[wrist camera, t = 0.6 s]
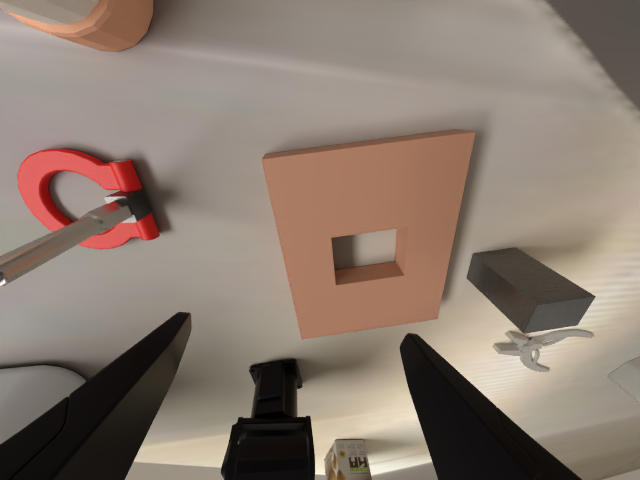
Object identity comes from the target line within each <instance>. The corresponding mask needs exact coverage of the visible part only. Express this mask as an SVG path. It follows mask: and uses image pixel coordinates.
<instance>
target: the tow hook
mask: <svg viewBox="0 0 640 480" xmlns="http://www.w3.org/2000/svg"><path fill="white" fill-rule="evenodd" d="M65 170H66V171H72V172H77V173H79V174H82V175H84V176H87V177H89V178H90V179H92V180H94V181H95V182H97V183H98V184H99V185H100V186H101V187H103V188H104V189H106V190H121V191H119V192H116V193H114V194H111V195H109V196H106V197H105V200H106V202H107V204H105V205H103V206H101V207H99V208H96V209H94V210H92V211H90V212H88V213H86V214H85V215H83V216H82V217H81V218H80V220H78V221H76V222H71V221H70V220H69V219H67V218H66V217H65V216H64V215H63V214H62V213H61V212H60V211H59V210H58V209H57V208H56V206H55V205H54V203H53V202H52V200H51V197H50V194H49V185H48V184H49V181H50V179H51V177H52V176H53V175H54V174H55V173H56V172H58V171H65ZM17 177H18V187H19V191H20V193H21V195H22V198H23V200H24V202H25V204H26V205H27V207H28V208H29V209H30V211H31V212H32V214H33V215H34V216H35V217H36V218H37V219H38V220H39V221H40V222H41V223H42V224H43V225H44V226H45V227H47V228H48V229H50V230H51V231H52V233H49V234H47V235H45V236H43V237H41V238H39V239H36V240H34V241H32V242H30V243H28V244H26V245H23V246H21V247H19V248H17V249H15V250H12V251H10V252H8V253H6V254H4V255H2V256H0V286H4V285H6V284H8V283H10V282H12V281H14V280H15V279H17V278H19V277H21V276H22V275H24V274H26V273H28V272H30V271H31V270H33V269H35V268H37V267H38V266H40V265H42V264H44V263H46V262H47V261H49V260H51V259H53V258H54V257H56V256H58V255H60V254H62V253H63V252H65V251H67V250H69V249H70V248H72V247H74V246H76V245H81V246H84V247H88V248H96V249H109V248H115V247H118V246H121V245H123V244H125V243H126V242H128V241H129V240H130V239H131V238H133V237H141V239H142V240H152V239H155V238H157V237H159V236H160V234H159V231H158V229H157V226H156V223H155V221H154V218H153V216H152V213H151V212H152V209H151V206H150V204H149V201H148V199H147V196H146V193H145V191H144V189H143V188H142V187H141V184H140V182H139V179H138V177H137V174H136V171H135V169H134V166H133V164H132V161H131V160H126V159H121V160H114V161H111V162H109V163H104V162H102V161H101V160H99V159H97V158H95V157H93V156H90V155H88V154H85V153H83V152H80V151H75V150H70V149H49V150H42V151H39V152H36V153H34V154H32V155H29V156H28V157H27V158H26V159H25V160H24V161H23V163H22V164H21V165H20V169H19V172H18V175H17ZM113 227H114V228H113ZM111 228H113V229H111ZM109 229H111V230H109Z"/></svg>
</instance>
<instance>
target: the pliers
mask: <svg viewBox="0 0 640 480" xmlns="http://www.w3.org/2000/svg"><path fill="white" fill-rule="evenodd" d="M505 334H506V336H507V337H508V338H509V339H510V340H511V341H513V342H514V343H498V344H494V345H493V347H494V349H495V350H496V351H497V352H498V353H499V354H505V355H513V356H520V360H521V362H522V363H523V364H524V365H525V366H526V367H528V368H529V369H531V370H535V371H539V372H549V371H550V370H549V369H548V368H546V367H543V366H540V365H538V364H536V362H537V360H538V358H539V352H538V351H537V350H536V348H542V346H548V345H551V344H554V343H556V342H559V341H561V340H563V339H564V338H567V337H573V336H580V337H590V338H592V337H593V336H594V335H593V334H591V333H589V332H587V331H584V330H577V329H567V330H558V331H553V332H550V333H547V334H544V335H540V336H536V337H532V339H531V340H529V339H528V338H527V337H525V336H523V335H520V334H517V333H513V332H510V331H507V332H506V333H505ZM553 339H554V340H553ZM550 340H552V341H550ZM546 341H549V342H546ZM543 342H545V343H543ZM533 350H534V351H535V356H534V358H533V359H532V360H531V352H532V351H533Z"/></svg>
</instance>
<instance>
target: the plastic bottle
mask: <svg viewBox="0 0 640 480" xmlns="http://www.w3.org/2000/svg"><path fill="white" fill-rule="evenodd" d="M85 382H86V380H85V379H84V378H83V377H82V376H80V375H79V374H77V373H75V372H73V371H71V370H68V369H65V368H61V367H56V366H48V365H39V366H28V367H18V368H7V369H0V444H1V443H3V442H4V441H6V440H7V439H9V438H10V437H12V436H13V435H14V434H16V433H17V432H19V431H20V430H22V429H23V428H24V427H26V426H27V425H29V424H30V423H31V422H33V421H34V420H35V419H37V418H38V417H40V416H41V415H42V414H44V413H45V412H46V411H48V410H49V409H50V408H52V407H53V406H54V405H56V404H57V403H58V402H60V401H61V400H62V399H64V398H65V397H67V396H68V397H69V395H70V393H72V392H73V391H74V390H76V389H77V388H78V387H80V386H81V385H82V384H84V383H85Z"/></svg>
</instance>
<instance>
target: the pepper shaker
mask: <svg viewBox="0 0 640 480" xmlns="http://www.w3.org/2000/svg"><path fill="white" fill-rule="evenodd" d="M0 9H1V10H4V11H6V12H8V13H9V14H11V15H12V16H14V17H15V18H17V19H18V20H20V21H21V22H23V23H24V24H26V25H27V26H29V27H32V28H35V29H37V30H40V31H43V32H45V33H48V34H51V35H53V36H56V37H59V38H63V39H66V40H69V41H72V42H75V43H78V44H82V45H85V46H88V47H91V48H94V49H97V50H101V51H122V50H125V49H127V48H130V47H132V46H135V45H136V44H137V43H138V42H139V41H140V40H141V39H142V37H143V36H144V35H145V34H146V33H147V31H148V28H149V25H150V22H151V19H152V16H153V0H0Z"/></svg>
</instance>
